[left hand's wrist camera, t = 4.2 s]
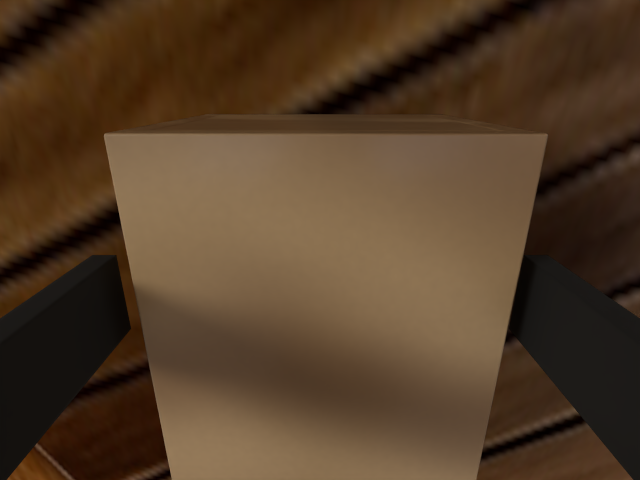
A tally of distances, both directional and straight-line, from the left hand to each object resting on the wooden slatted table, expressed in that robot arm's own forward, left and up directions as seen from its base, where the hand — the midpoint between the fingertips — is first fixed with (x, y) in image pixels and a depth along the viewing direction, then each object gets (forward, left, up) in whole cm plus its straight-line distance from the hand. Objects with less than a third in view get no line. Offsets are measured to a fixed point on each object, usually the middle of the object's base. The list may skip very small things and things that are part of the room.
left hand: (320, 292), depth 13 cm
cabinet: (+1, +3, -8) cm, 8 cm away
